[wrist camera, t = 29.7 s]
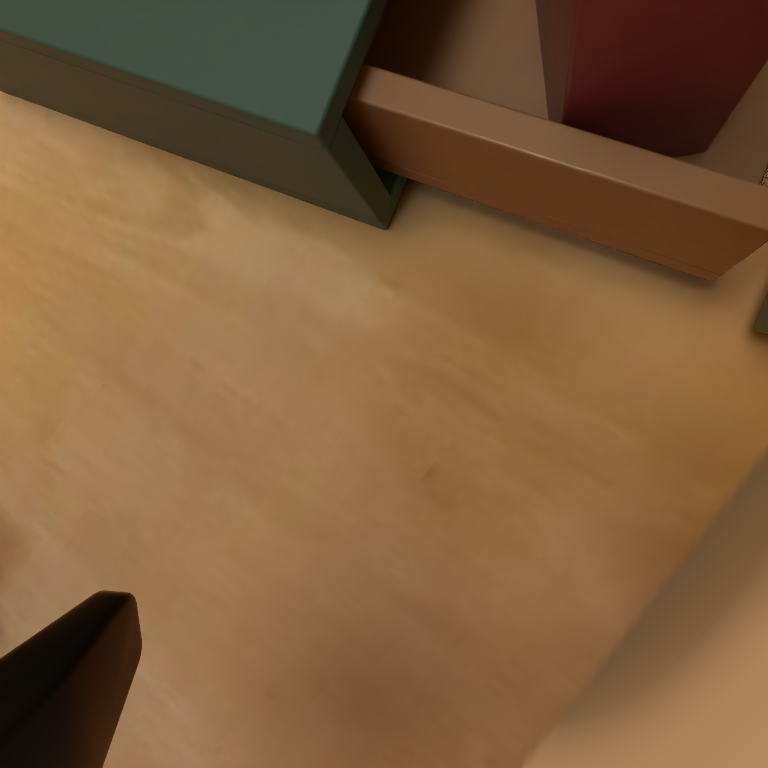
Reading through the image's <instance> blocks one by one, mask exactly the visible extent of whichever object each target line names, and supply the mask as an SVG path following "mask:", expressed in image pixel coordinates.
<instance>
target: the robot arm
mask: <svg viewBox="0 0 768 768" xmlns="http://www.w3.org/2000/svg"><path fill="white" fill-rule="evenodd" d="M141 650H142V638H141V631H140V624H139V617H138V610H137V603H136V599H135V597H134V596H133V595H132V594H130V593H127V592H116V591H99V592H97V593H95V594H93V595H92V596H90V597H89V598H87V599H86V600H85V601H83V602H82V603H80V604H79V605H77V606H76V607H74V608H73V609H72V610H70V611H69V612H67V613H66V614H64V615H63V616H61V617H60V618H58V619H57V620H56V621H54V622H53V623H51V624H50V625H48V626H47V627H45V628H44V629H43V630H41V631H40V632H38V633H37V634H35V635H34V636H32V637H31V638H29V639H28V640H27V641H25V642H24V643H22V644H21V645H19V646H18V647H16V648H15V649H14V650H12V651H11V652H9V653H8V654H6V655H5V656H3V657H2V658H0V768H102V767H103V764H104V761H105V758H106V756H107V753H108V750H109V747H110V744H111V741H112V738H113V735H114V733H115V730H116V727H117V724H118V721H119V718H120V715H121V712H122V709H123V707H124V704H125V701H126V698H127V695H128V692H129V689H130V686H131V684H132V681H133V678H134V675H135V672H136V669H137V666H138V663H139V660H140V656H141Z"/></svg>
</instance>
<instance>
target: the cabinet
mask: <svg viewBox="0 0 768 768" xmlns="http://www.w3.org/2000/svg"><path fill="white" fill-rule="evenodd" d="M387 1H388V0H0V91H3V92H6V93H8V94H11V95H14V96H17V97H19V98H22V99H25V100H28V101H30V102H33V103H36V104H39V105H41V106H44V107H47V108H50V109H52V110H55V111H58V112H61V113H63V114H66V115H69V116H72V117H74V118H77V119H80V120H83V121H85V122H88V123H91V124H94V125H97V126H99V127H102V128H105V129H108V130H110V131H113V132H116V133H119V134H121V135H124V136H127V137H130V138H132V139H135V140H138V141H141V142H143V143H146V144H149V145H152V146H154V147H157V148H160V149H163V150H165V151H168V152H171V153H174V154H176V155H179V156H182V157H185V158H188V159H190V160H193V161H196V162H199V163H201V164H204V165H207V166H210V167H212V168H215V169H218V170H221V171H223V172H226V173H229V174H232V175H234V176H237V177H240V178H243V179H245V180H248V181H251V182H254V183H256V184H259V185H262V186H265V187H268V188H270V189H273V190H276V191H279V192H281V193H284V194H287V195H290V196H292V197H295V198H298V199H301V200H303V201H306V202H309V203H312V204H314V205H317V206H320V207H323V208H325V209H328V210H331V211H334V212H336V213H339V214H342V215H345V216H347V217H350V218H353V219H356V220H359V221H361V222H364V223H367V224H370V225H372V226H375V227H378V228H381V229H383V230H386V229H387V228H388V225H389V223H390V220H391V218H392V215H393V213H394V210H395V208H396V205H397V203H398V201H399V198H400V196H401V193H402V191H403V188H404V186H405V183H406V181H407V178H406V177H403V176H400V175H397V174H394V173H391V172H389V171H386V170H383V169H380V168H377V167H374V166H372V165H371V163H370V161H369V160H368V158H367V156H366V155H365V153H364V152H363V150H362V148H361V147H360V145H359V143H358V142H357V140H356V138H355V137H354V135H353V133H352V132H351V130H350V128H349V127H348V125H347V123H346V122H345V120H344V119H343V117H342V116H341V115H342V113H343V110H344V108H345V105H346V103H347V100H348V98H349V95H350V93H351V90H352V88H353V85H354V83H355V81H356V78H357V76H358V73H359V71H360V68H361V66H362V63H363V61H364V58H365V56H366V53H367V51H368V48H369V46H370V43H371V41H372V38H373V36H374V33H375V31H376V28H377V26H378V23H379V21H380V18H381V16H382V13H383V11H384V8H385V6H386V3H387Z"/></svg>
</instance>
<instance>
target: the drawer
mask: <svg viewBox="0 0 768 768" xmlns="http://www.w3.org/2000/svg"><path fill="white" fill-rule="evenodd" d="M341 116H342V117H343V119H344V120H345V122H346V123H347V125H348V127H349V128H350V130H351V132H352V133H353V135H354V137H355V138H356V140H357V142H358V143H359V145H360V147H361V148H362V150H363V152H364V153H365V155H366V156H367V158H368V160H369V161H370V163H371V165H372V166H374V167H377V168H380V169H383V170H386V171H389V172H391V173H394V174H397V175H400V176H403V177H406V178H409V179H412V180H415V181H418V182H421V183H424V184H427V185H430V186H433V187H436V188H438V189H441V190H444V191H447V192H450V193H453V194H456V195H459V196H462V197H465V198H468V199H471V200H474V201H477V202H480V203H482V204H485V205H488V206H491V207H494V208H497V209H500V210H503V211H506V212H509V213H512V214H515V215H518V216H521V217H524V218H526V219H529V220H532V221H535V222H538V223H541V224H544V225H547V226H550V227H553V228H556V229H559V230H562V231H565V232H568V233H570V234H573V235H576V236H579V237H582V238H585V239H588V240H591V241H594V242H597V243H600V244H603V245H606V246H609V247H612V248H615V249H617V250H620V251H623V252H626V253H629V254H632V255H635V256H638V257H641V258H644V259H647V260H650V261H653V262H656V263H659V264H661V265H664V266H667V267H670V268H673V269H676V270H679V271H682V272H685V273H688V274H691V275H694V276H697V277H700V278H703V279H705V280H708V281H714V280H715V279H716V278H718V277H719V276H720V275H722V274H723V273H725V272H726V271H727V270H729V269H730V268H732V267H733V266H734V265H736V264H737V263H738V262H740V261H741V260H743V259H744V258H745V257H747V256H748V255H749V254H751V253H752V252H754V251H755V250H756V249H758V248H759V247H760V246H762V245H763V244H764V243H766V242H767V241H768V186H764V185H761V182H762V180H763V177H764V175H765V173H766V170H767V168H768V61H767V62H766V64H765V65H764V67H763V68H762V69H761V71H760V72H759V74H758V75H757V77H756V78H755V80H754V81H753V83H752V84H751V86H750V87H749V89H748V90H747V92H746V93H745V95H744V96H743V97H742V99H741V100H740V102H739V103H738V105H737V106H736V108H735V109H734V111H733V112H732V114H731V115H730V117H729V118H728V120H727V121H726V123H725V124H724V125H723V127H722V128H721V130H720V131H719V133H718V134H717V136H716V137H715V139H714V140H713V142H712V143H711V145H710V146H709V148H708V149H707V151H705V152H703V153H696V154H690V155H684V156H678V157H669V156H666V155H663V154H659V153H656V152H653V151H649V150H646V149H643V148H640V147H636V146H633V145H630V144H626V143H623V142H620V141H617V140H613V139H610V138H607V137H603V136H600V135H597V134H594V133H590V132H587V131H584V130H580V129H577V128H574V127H571V126H567V125H564V124H561V123H557V122H554V121H551V120H549V118H548V109H547V100H546V91H545V82H544V73H543V64H542V55H541V46H540V37H539V28H538V19H537V10H536V1H535V0H388V1H387V3H386V6H385V8H384V11H383V13H382V16H381V18H380V21H379V23H378V26H377V28H376V31H375V33H374V36H373V38H372V41H371V43H370V46H369V48H368V51H367V53H366V56H365V58H364V61H363V63H362V66H361V68H360V71H359V73H358V76H357V78H356V81H355V83H354V85H353V88H352V90H351V93H350V95H349V98H348V100H347V103H346V105H345V108H344V110H343V113H342V115H341ZM754 329H755V330H756V331H758V332H761V333H764V334H767V335H768V295H767V297H766V299H765V302H764V304H763V306H762V309H761V311H760V313H759V316H758V318H757V320H756V323H755V325H754Z"/></svg>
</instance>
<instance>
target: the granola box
mask: <svg viewBox="0 0 768 768" xmlns="http://www.w3.org/2000/svg"><path fill="white" fill-rule="evenodd" d="M535 1H536V10H537V19H538V28H539V37H540V46H541V55H542V64H543V73H544V82H545V91H546V100H547V109H548V118H549V120H551V121H554V122H557V123H561V124H564V125H567V126H571V127H574V128H577V129H580V130H584V131H587V132H590V133H594V134H597V135H600V136H603V137H607V138H610V139H613V140H617V141H620V142H623V143H626V144H630V145H633V146H636V147H640V148H643V149H646V150H649V151H653V152H656V153H659V154H663V155H666V156H669V157H678V156H684V155H690V154H696V153H703V152H705V151H707V149H708V148H709V146H710V145H711V143H712V142H713V140H714V139H715V137H716V136H717V134H718V133H719V131H720V130H721V128H722V127H723V125H724V124H725V123H726V121H727V120H728V118H729V117H730V115H731V114H732V112H733V111H734V109H735V108H736V106H737V105H738V103H739V102H740V100H741V99H742V97H743V96H744V95H745V93H746V92H747V90H748V89H749V87H750V86H751V84H752V83H753V81H754V80H755V78H756V77H757V75H758V74H759V72H760V71H761V69H762V68H763V67H764V65H765V64H766V62H767V61H768V0H535Z"/></svg>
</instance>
